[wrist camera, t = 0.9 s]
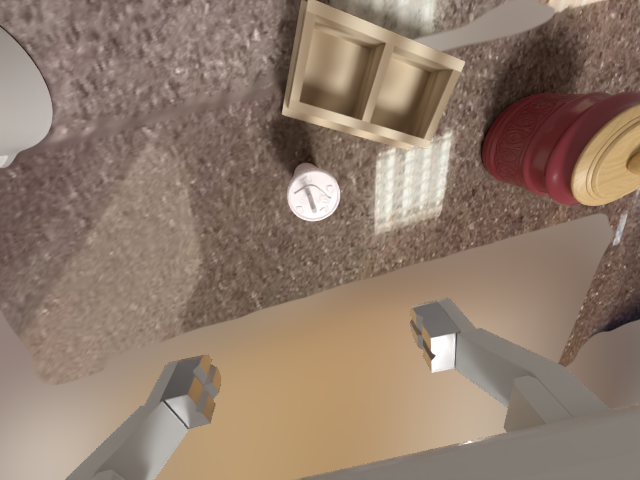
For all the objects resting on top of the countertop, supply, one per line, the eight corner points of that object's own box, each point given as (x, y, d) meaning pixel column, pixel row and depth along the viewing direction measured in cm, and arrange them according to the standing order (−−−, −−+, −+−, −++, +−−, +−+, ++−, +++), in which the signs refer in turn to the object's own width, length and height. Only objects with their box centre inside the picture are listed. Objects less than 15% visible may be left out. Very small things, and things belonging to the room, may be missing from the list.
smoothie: (289, 148, 35) (295, 175, 23) (331, 158, 37) (358, 188, 25) (281, 190, 38) (283, 234, 26) (321, 198, 40) (340, 242, 28)
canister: (571, 87, 37) (773, 81, 22) (541, 173, 44) (680, 214, 29) (490, 98, 36) (643, 99, 21) (471, 184, 43) (578, 232, 28)
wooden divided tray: (281, 114, 33) (282, 117, 28) (300, 2, 28) (306, -19, 23) (406, 149, 38) (426, 157, 33) (442, 59, 33) (473, 52, 28)
